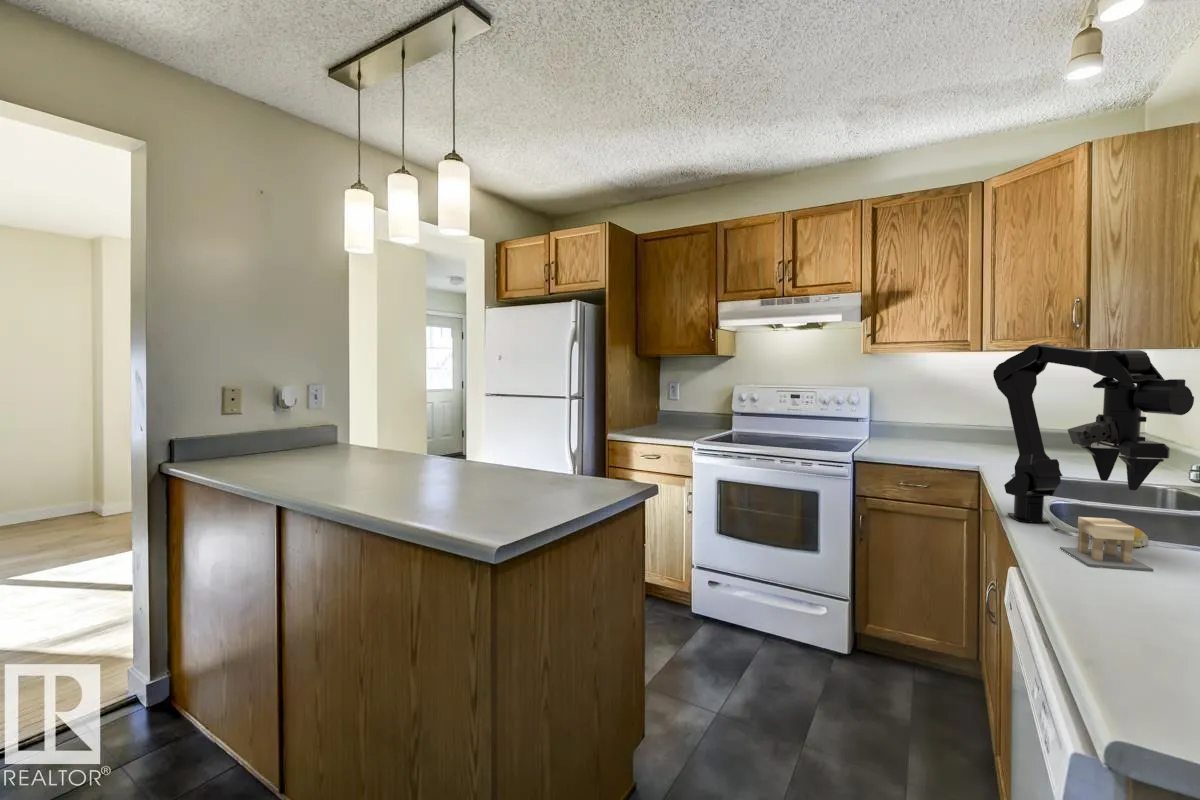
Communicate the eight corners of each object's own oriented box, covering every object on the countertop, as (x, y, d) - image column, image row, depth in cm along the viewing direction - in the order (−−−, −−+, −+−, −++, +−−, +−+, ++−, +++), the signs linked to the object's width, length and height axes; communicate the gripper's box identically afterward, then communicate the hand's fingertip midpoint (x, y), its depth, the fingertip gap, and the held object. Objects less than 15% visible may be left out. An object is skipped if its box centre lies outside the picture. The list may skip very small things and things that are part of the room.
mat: (1059, 549, 113) (1059, 546, 113) (1118, 553, 111) (1118, 550, 111) (1088, 566, 104) (1088, 564, 104) (1153, 571, 101) (1153, 568, 101)
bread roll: (1099, 533, 124) (1100, 516, 124) (1152, 545, 116) (1153, 526, 116) (1081, 539, 120) (1082, 521, 120) (1135, 551, 112) (1136, 532, 112)
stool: (1076, 550, 111) (1078, 516, 110) (1112, 553, 109) (1114, 518, 109) (1094, 561, 105) (1096, 525, 105) (1132, 563, 104) (1134, 527, 103)
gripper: (1051, 406, 124) (1048, 474, 125) (1102, 414, 106) (1098, 493, 107) (1111, 407, 121) (1107, 476, 122) (1174, 415, 103) (1169, 496, 104)
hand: (1117, 485), depth 114 cm, fingers open, 9 cm apart
